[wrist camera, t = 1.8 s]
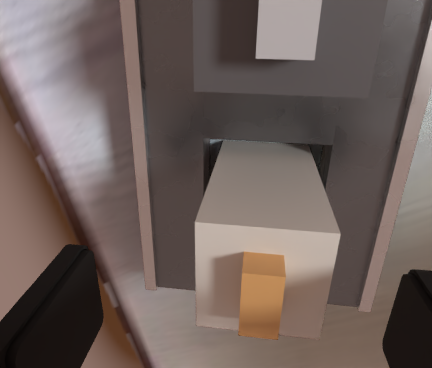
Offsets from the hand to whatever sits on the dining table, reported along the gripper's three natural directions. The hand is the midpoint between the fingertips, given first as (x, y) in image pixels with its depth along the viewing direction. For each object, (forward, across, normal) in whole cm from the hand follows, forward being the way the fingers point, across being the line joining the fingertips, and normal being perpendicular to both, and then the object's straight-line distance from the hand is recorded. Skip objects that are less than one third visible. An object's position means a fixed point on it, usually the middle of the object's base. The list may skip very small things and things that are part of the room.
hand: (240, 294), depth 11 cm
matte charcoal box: (+8, -1, -8) cm, 12 cm away
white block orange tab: (+8, -1, 0) cm, 8 cm away
